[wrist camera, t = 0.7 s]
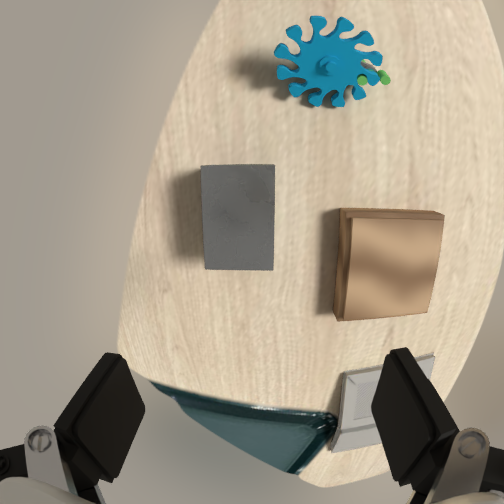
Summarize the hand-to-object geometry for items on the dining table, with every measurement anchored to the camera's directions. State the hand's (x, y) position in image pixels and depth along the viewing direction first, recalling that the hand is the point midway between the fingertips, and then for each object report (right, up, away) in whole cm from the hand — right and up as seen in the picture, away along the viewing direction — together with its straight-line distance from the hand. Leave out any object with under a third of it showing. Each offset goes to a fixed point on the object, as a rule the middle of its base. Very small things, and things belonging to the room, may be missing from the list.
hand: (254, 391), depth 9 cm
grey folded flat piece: (+21, -22, +29) cm, 42 cm away
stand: (+15, +4, +20) cm, 26 cm away
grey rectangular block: (-1, +9, +19) cm, 21 cm away
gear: (+8, +23, +15) cm, 28 cm away
